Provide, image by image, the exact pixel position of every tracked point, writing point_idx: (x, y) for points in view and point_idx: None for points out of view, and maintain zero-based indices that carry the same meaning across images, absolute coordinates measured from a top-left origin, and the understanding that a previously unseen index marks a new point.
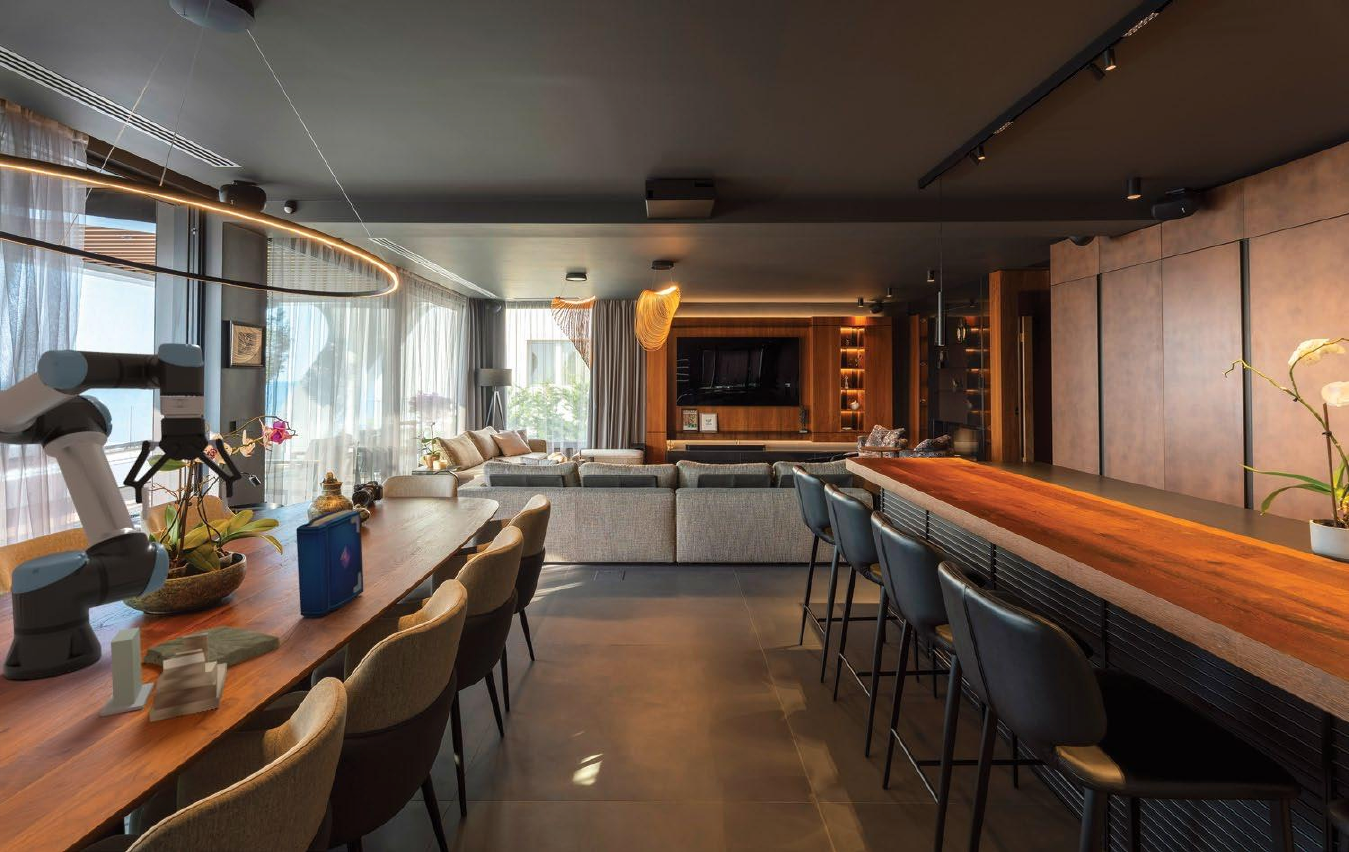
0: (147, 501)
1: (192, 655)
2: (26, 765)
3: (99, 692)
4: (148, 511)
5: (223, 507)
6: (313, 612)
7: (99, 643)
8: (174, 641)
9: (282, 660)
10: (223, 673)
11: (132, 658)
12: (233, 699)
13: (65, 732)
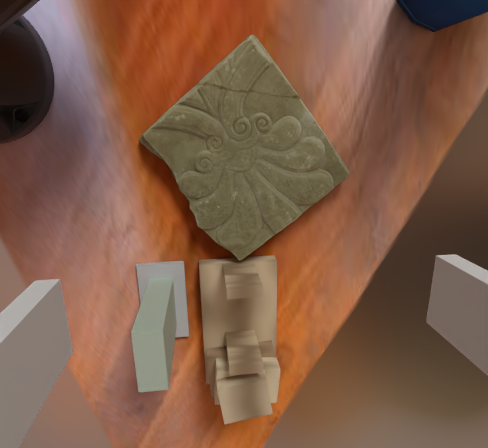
0: (11, 420)
1: (253, 386)
2: (112, 424)
3: (115, 252)
4: (46, 338)
5: (456, 343)
6: (422, 23)
7: (35, 54)
8: (183, 123)
9: (344, 242)
10: (275, 301)
11: (171, 365)
12: (286, 350)
13: (120, 364)
